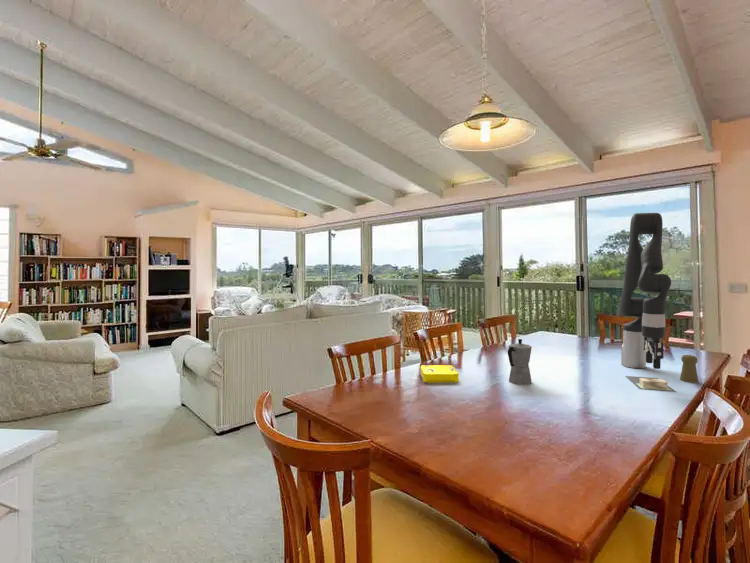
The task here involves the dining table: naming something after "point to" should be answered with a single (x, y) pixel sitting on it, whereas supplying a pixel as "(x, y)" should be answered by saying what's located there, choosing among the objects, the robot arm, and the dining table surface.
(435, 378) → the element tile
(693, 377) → the cork
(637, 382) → the grey board
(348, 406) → the dining table surface
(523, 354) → the coffeepot
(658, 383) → the maple tile
